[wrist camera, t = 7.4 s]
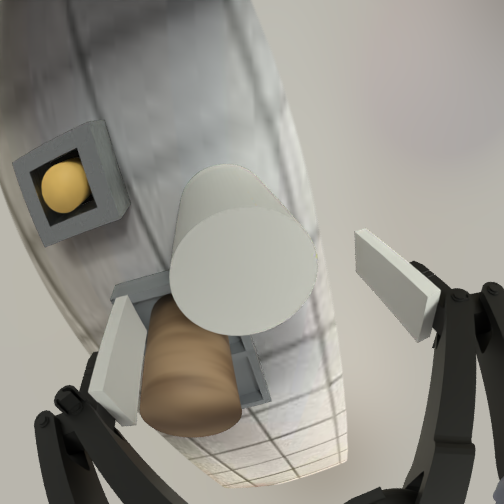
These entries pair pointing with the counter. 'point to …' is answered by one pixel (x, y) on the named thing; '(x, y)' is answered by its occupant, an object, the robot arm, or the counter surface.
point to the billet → (187, 376)
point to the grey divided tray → (242, 347)
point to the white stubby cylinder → (238, 254)
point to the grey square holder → (98, 175)
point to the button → (65, 185)
